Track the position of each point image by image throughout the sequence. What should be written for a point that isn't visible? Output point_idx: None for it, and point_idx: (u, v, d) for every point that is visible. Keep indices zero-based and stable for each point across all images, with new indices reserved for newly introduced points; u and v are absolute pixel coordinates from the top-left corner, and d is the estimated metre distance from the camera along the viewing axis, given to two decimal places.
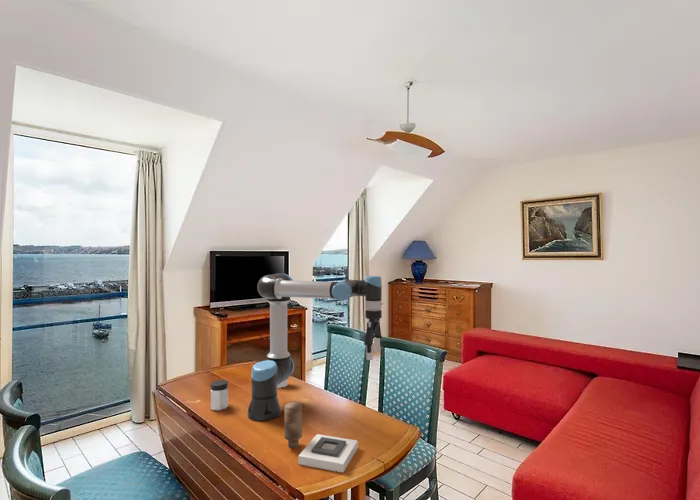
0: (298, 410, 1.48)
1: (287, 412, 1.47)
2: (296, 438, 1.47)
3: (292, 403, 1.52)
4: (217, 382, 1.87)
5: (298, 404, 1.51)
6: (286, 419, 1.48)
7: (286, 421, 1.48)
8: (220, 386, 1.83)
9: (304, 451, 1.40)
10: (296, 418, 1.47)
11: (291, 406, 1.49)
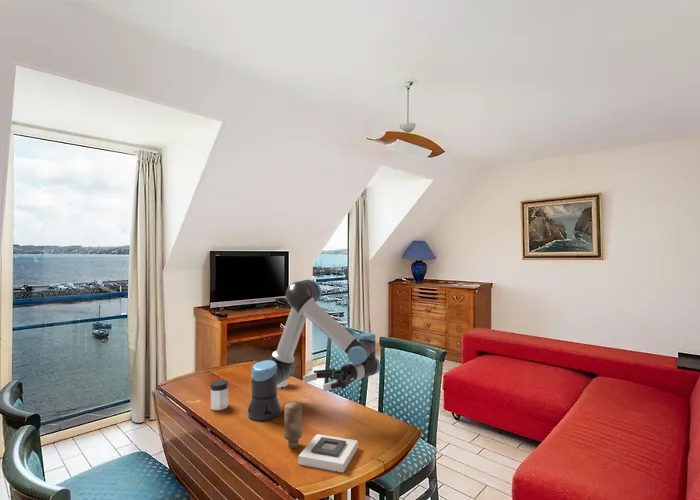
0: (298, 410, 1.48)
1: (287, 412, 1.47)
2: (296, 438, 1.47)
3: (292, 403, 1.52)
4: (217, 382, 1.87)
5: (298, 404, 1.51)
6: (286, 419, 1.48)
7: (286, 421, 1.48)
8: (220, 386, 1.83)
9: (304, 451, 1.40)
10: (296, 418, 1.47)
11: (291, 406, 1.49)
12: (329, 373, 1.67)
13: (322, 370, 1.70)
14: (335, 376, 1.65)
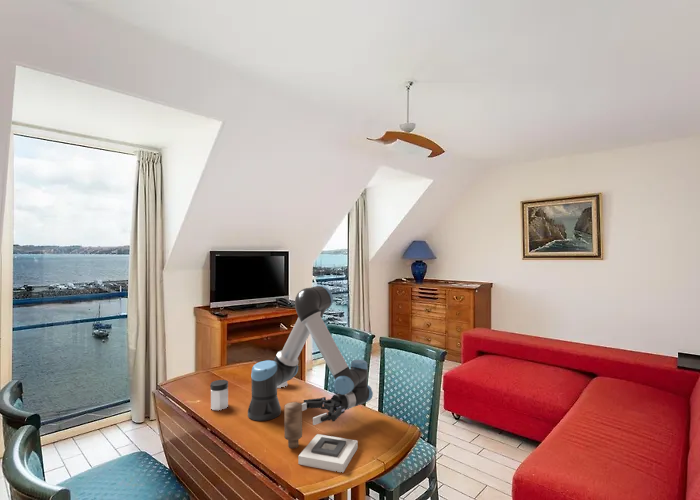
0: (298, 410, 1.48)
1: (287, 412, 1.47)
2: (296, 438, 1.47)
3: (292, 403, 1.52)
4: (217, 382, 1.87)
5: (298, 404, 1.51)
6: (286, 419, 1.48)
7: (286, 421, 1.48)
8: (220, 386, 1.83)
9: (304, 451, 1.40)
10: (296, 418, 1.47)
11: (291, 406, 1.49)
12: (319, 403, 1.62)
13: (312, 399, 1.65)
14: (325, 406, 1.61)
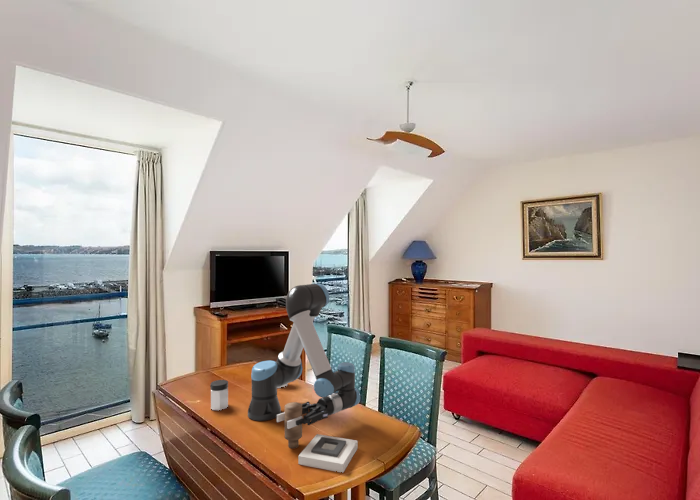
0: (298, 410, 1.48)
1: (287, 412, 1.47)
2: (296, 438, 1.47)
3: (292, 403, 1.52)
4: (217, 382, 1.87)
5: (298, 404, 1.51)
6: (286, 419, 1.48)
7: (286, 421, 1.48)
8: (220, 386, 1.83)
9: (304, 451, 1.40)
10: None
11: (291, 406, 1.49)
12: (305, 408, 1.57)
13: None
14: (310, 410, 1.56)
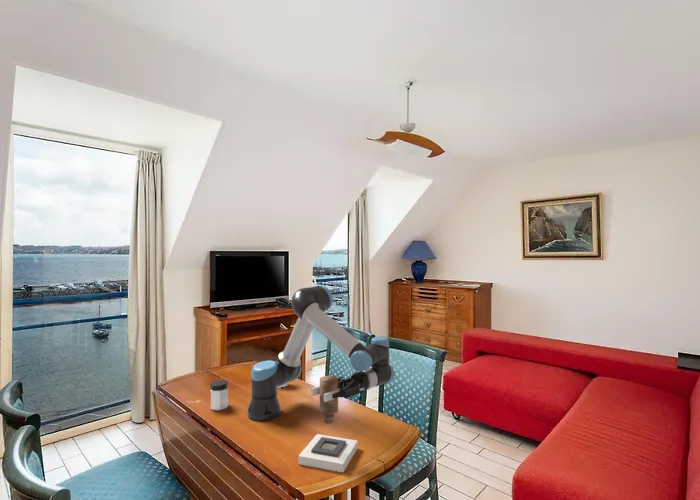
0: (334, 383, 1.40)
1: (323, 385, 1.40)
2: (332, 412, 1.40)
3: (327, 377, 1.45)
4: (217, 382, 1.87)
5: (333, 377, 1.44)
6: (322, 392, 1.40)
7: (322, 394, 1.40)
8: (220, 386, 1.83)
9: (304, 451, 1.40)
10: None
11: (327, 379, 1.42)
12: (340, 383, 1.49)
13: None
14: (345, 385, 1.49)
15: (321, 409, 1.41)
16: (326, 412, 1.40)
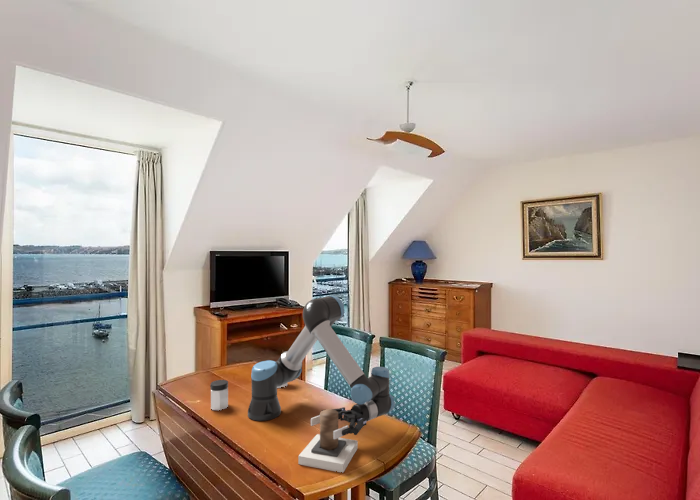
0: (334, 418, 1.40)
1: (324, 420, 1.40)
2: (333, 447, 1.40)
3: (327, 411, 1.45)
4: (217, 382, 1.87)
5: (334, 411, 1.44)
6: (322, 427, 1.40)
7: (322, 429, 1.40)
8: (220, 386, 1.83)
9: (304, 451, 1.40)
10: (332, 426, 1.40)
11: (327, 414, 1.42)
12: (339, 414, 1.51)
13: None
14: (346, 418, 1.49)
15: (321, 444, 1.41)
16: (326, 447, 1.40)
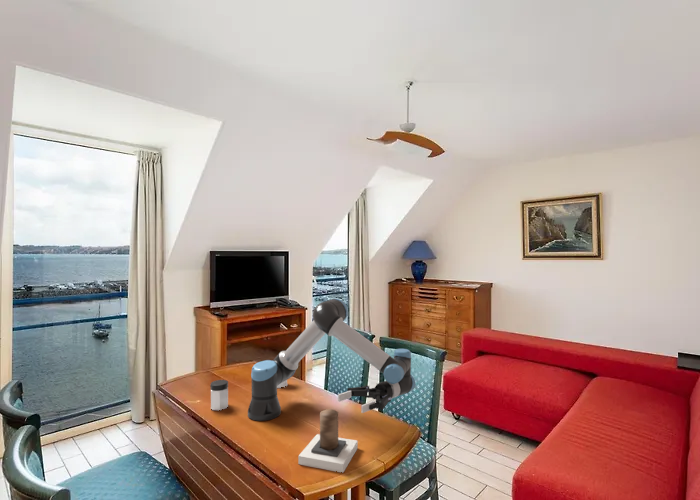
0: (334, 418, 1.40)
1: (324, 420, 1.40)
2: (333, 447, 1.40)
3: (327, 411, 1.45)
4: (217, 382, 1.87)
5: (334, 411, 1.44)
6: (322, 427, 1.40)
7: (322, 429, 1.40)
8: (220, 386, 1.83)
9: (304, 451, 1.40)
10: (332, 426, 1.40)
11: (327, 414, 1.42)
12: (364, 391, 1.59)
13: (356, 387, 1.62)
14: (371, 395, 1.57)
15: (321, 444, 1.41)
16: (326, 447, 1.40)
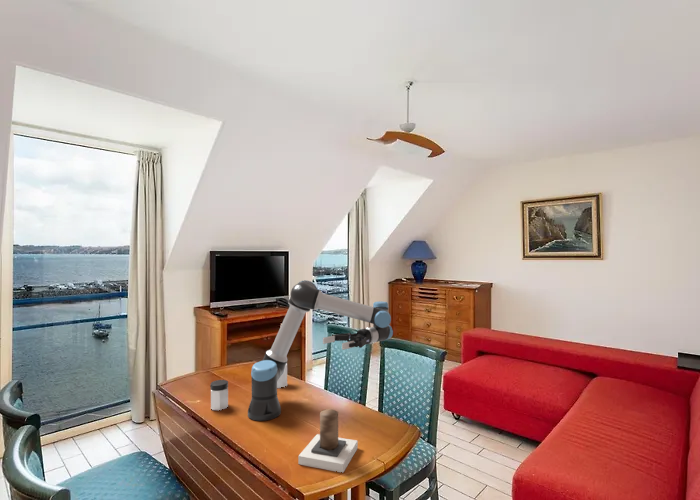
0: (334, 418, 1.40)
1: (324, 420, 1.40)
2: (333, 447, 1.40)
3: (327, 411, 1.45)
4: (217, 382, 1.87)
5: (334, 411, 1.44)
6: (322, 427, 1.40)
7: (322, 429, 1.40)
8: (220, 386, 1.83)
9: (304, 451, 1.40)
10: (332, 426, 1.40)
11: (327, 414, 1.42)
12: (346, 336, 1.81)
13: (339, 334, 1.84)
14: (352, 338, 1.79)
15: (321, 444, 1.41)
16: (326, 447, 1.40)
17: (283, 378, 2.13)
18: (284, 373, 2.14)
